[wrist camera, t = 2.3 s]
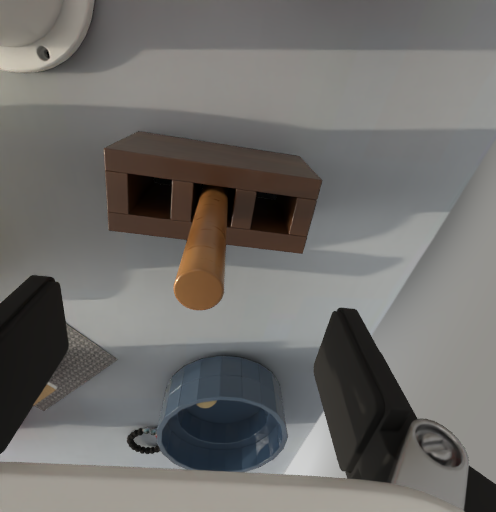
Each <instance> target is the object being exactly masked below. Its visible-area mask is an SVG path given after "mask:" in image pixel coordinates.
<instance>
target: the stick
mask: <svg viewBox="0 0 496 512" xmlns="http://www.w3.org/2000/svg"><path fill="white" fill-rule="evenodd" d="M227 209H228V187H221V186H214V185H207V184H204V185H203V188H202V192H201V195H200V199H199V202H198V205H197V209H196V212H195V215H194V219H193V222H192V226H191V229H190V232H189V236H188V239H187V242H186V246H185V249H184V253H183V256H182V259H181V263H180V266H179V269H178V273H177V276H176V280H175V283H174V294H175V296H176V298H177V300H178V301H179V302H180V303H181V304H182V305H184V306H185V307H187V308H190V309H193V310H206V309H210V308H212V307H214V306H215V305H217V304H218V303H219V302H220V300H221V299H222V297H223V294H224V277H225V254H226V232H227Z"/></svg>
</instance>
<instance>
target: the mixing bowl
mask: <svg viewBox="0 0 496 512" xmlns="http://www.w3.org/2000/svg"><path fill="white" fill-rule="evenodd" d="M210 401H217V402H216V403H215V404H214V405H213V406H212V407H209V408H201V407H199V406H198V405H196V404H198V403H203V402H210ZM287 438H288V434H287V428H286V422H285V415H284V409H283V402H282V396H281V390H280V384H279V382H278V381H277V379H276V378H275V376H274V375H273V374H272V372H271V371H269V370H268V369H266V368H265V367H263V366H262V365H261V364H259V363H256V362H253V361H250V360H247V359H244V358H241V357H231V356H216V357H209V358H202V359H200V360H198V361H195V362H193V363H190V364H188V365H186V366H184V367H183V368H182V369H180V370H179V371H178V372H177V373H176V374H174V375H173V376H172V378H171V380H170V382H169V384H168V385H167V387H166V391H165V396H164V400H163V405H162V409H161V414H160V418H159V423H158V427H157V444H158V446H159V448H160V450H161V452H162V454H163V455H164V456H166V457H167V458H168V459H169V460H170V461H172V462H173V463H174V464H176V465H178V466H180V467H183V468H185V469H187V470H205V471H226V472H246V471H249V470H253V469H256V468H259V467H261V466H263V465H264V464H266V463H268V462H269V461H271V460H273V459H274V458H275V457H276V456H277V455H278V454H279V453H280V452H281V451H282V450H283V448H284V446H285V443H286V440H287Z"/></svg>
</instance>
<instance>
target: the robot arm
mask: <svg viewBox="0 0 496 512" xmlns="http://www.w3.org/2000/svg"><path fill="white" fill-rule="evenodd" d="M93 7H94V0H0V69H1V70H4V71H9V72H20V73H29V72H41V71H44V70H48V69H51V68H54V67H56V66H58V65H59V64H61V63H63V62H64V61H66V60H67V59H68V58H69V57H70V56H71V55H72V54H73V53H74V52H75V51H76V50H77V49H78V48H79V46H80V44H81V43H82V41H83V40H84V38H85V36H86V34H87V31H88V28H89V25H90V22H91V20H92V14H93ZM47 51H49V54H50V58H48V57H47ZM68 347H69V341H68V334H67V327H66V321H65V314H64V308H63V301H62V295H61V288H60V284H59V283H58V282H55V280H54V278H52V277H47V276H37V275H32V276H30V277H29V278H28V279H27V280H26V281H24V282H23V283H22V284H21V285H20V286H19V287H18V288H17V289H16V290H15V291H14V292H12V293H11V294H10V295H9V296H8V297H7V298H6V299H5V300H4V301H3V302H2V303H0V454H1V453H2V452H3V451H4V450H5V449H6V447H7V446H8V444H9V443H10V441H11V440H12V438H13V436H14V435H15V433H16V432H17V430H18V429H19V427H20V425H21V424H22V422H23V421H24V419H25V418H26V416H27V415H28V413H29V411H30V410H31V408H32V407H33V405H34V404H35V402H36V400H37V399H38V397H39V396H40V394H41V393H42V391H43V389H44V388H45V386H46V385H47V383H48V382H49V380H50V378H51V377H52V375H53V374H54V372H55V371H56V369H57V367H58V366H59V364H60V363H61V361H62V360H63V358H64V356H65V355H66V353H67V351H68ZM314 376H315V380H316V383H317V387H318V391H319V394H320V398H321V402H322V405H323V409H324V412H325V416H326V420H327V423H328V427H329V431H330V434H331V438H332V442H333V445H334V449H335V452H336V456H337V460H338V463H339V466H340V469H341V470H342V471H345V472H346V475H347V479H345V478H332V477H318V476H302V475H301V476H300V475H283V474H264V473H245V472H226V471H205V470H184V469H163V468H141V467H119V466H96V465H72V464H48V463H24V462H0V512H496V484H494V483H493V482H492V481H490V480H489V479H487V478H486V477H484V476H483V475H482V474H480V473H479V472H477V471H476V470H474V469H473V468H472V467H470V466H469V459H468V455H467V452H466V450H465V448H464V446H463V445H462V444H461V442H460V441H459V439H458V438H457V437H456V436H455V435H454V434H453V433H452V432H451V431H449V430H448V429H447V428H445V427H444V426H443V425H440V424H439V423H437V422H435V421H431V420H428V419H417V417H416V415H415V413H414V412H413V410H412V408H411V407H410V404H409V403H408V401H407V399H406V397H405V395H404V393H403V392H402V390H401V388H400V386H399V384H398V383H397V381H396V379H395V377H394V375H393V374H392V372H391V370H390V368H389V366H388V364H387V363H386V361H385V359H384V357H383V355H382V354H381V352H380V351H379V350H378V348H377V346H376V344H375V343H374V340H373V339H372V337H371V335H370V333H369V331H368V330H367V328H366V326H365V324H364V322H363V320H362V319H361V317H360V315H359V313H358V311H357V310H355V309H348V308H339V309H338V310H337V311H334V312H333V313H332V315H331V318H330V321H329V324H328V326H327V329H326V332H325V335H324V338H323V341H322V343H321V346H320V349H319V352H318V355H317V357H316V360H315V363H314Z"/></svg>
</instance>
